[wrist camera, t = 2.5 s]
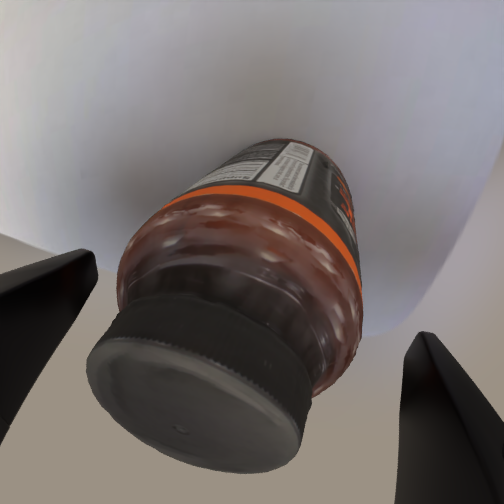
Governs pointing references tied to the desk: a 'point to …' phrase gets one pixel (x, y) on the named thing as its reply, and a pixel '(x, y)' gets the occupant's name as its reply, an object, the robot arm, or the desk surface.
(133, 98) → the desk surface
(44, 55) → the desk surface
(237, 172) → the supplement bottle
